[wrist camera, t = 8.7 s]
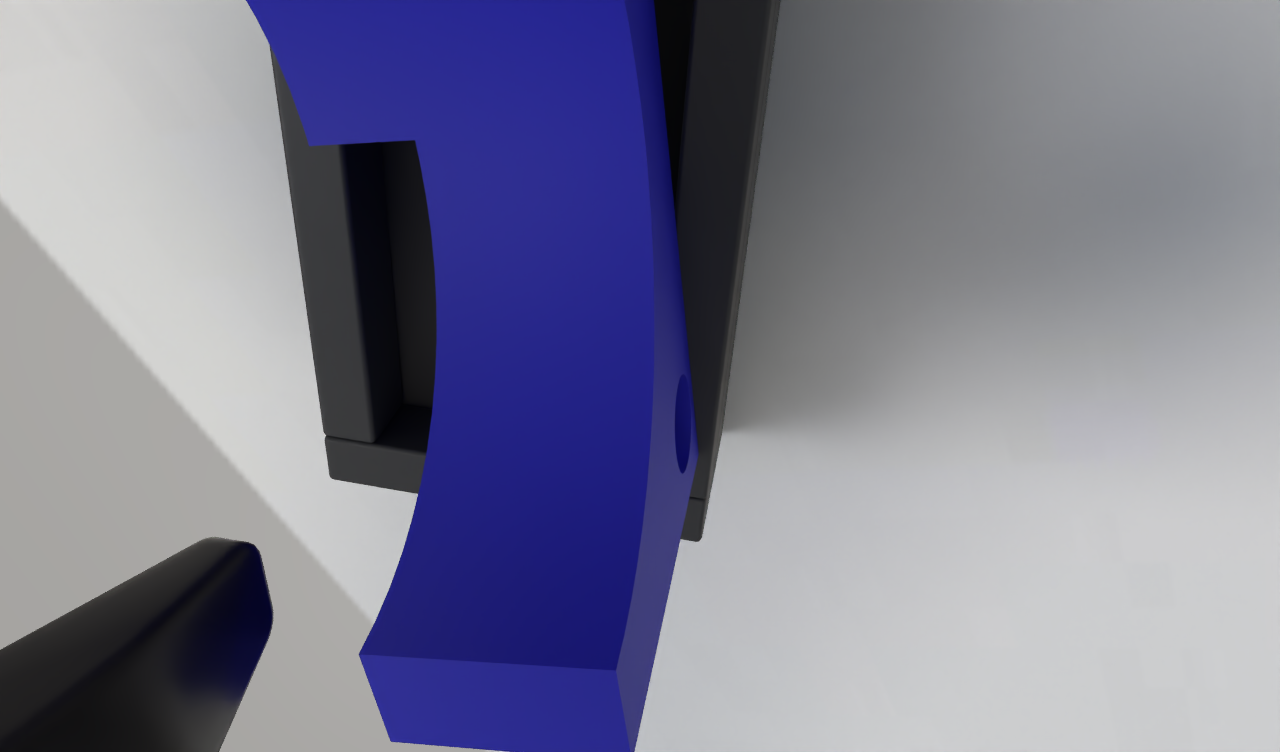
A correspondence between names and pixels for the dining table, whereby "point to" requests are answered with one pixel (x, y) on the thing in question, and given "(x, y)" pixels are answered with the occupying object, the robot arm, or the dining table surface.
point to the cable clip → (524, 356)
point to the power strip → (404, 264)
